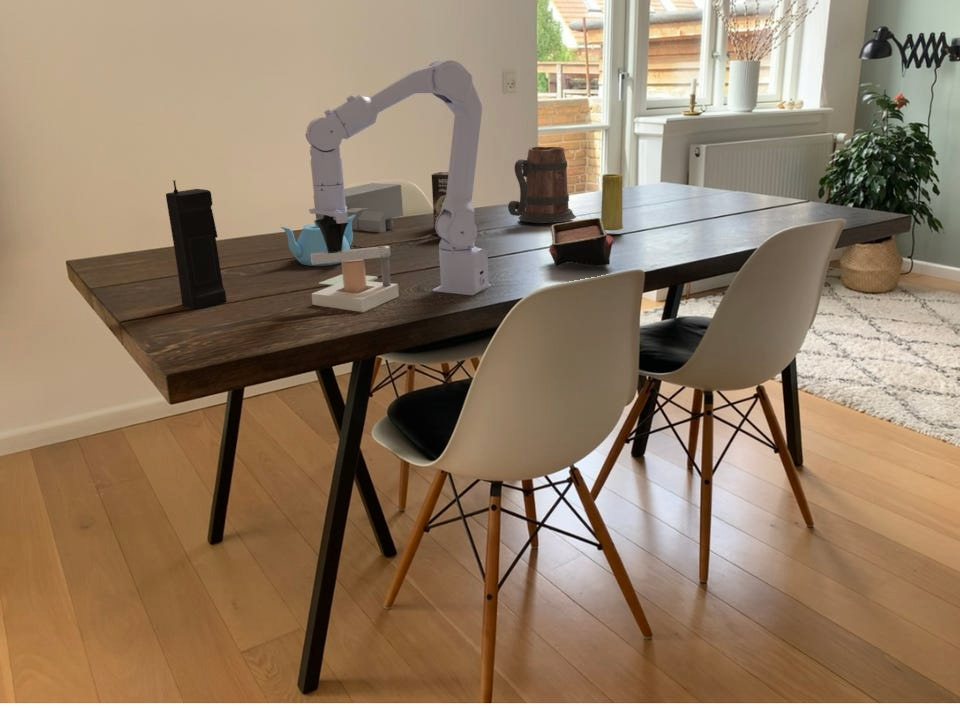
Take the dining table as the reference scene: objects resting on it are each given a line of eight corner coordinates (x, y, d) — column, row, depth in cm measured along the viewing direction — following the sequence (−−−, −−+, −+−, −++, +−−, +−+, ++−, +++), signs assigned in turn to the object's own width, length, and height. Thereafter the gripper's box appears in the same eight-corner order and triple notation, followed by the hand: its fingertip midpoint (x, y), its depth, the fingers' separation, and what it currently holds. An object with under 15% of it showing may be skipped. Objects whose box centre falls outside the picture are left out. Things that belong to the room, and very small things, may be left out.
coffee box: (433, 234, 222) (430, 174, 216) (441, 230, 227) (438, 171, 222) (465, 235, 219) (462, 174, 213) (472, 230, 225) (470, 171, 219)
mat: (377, 278, 177) (377, 276, 176) (352, 289, 169) (352, 286, 169) (344, 275, 181) (344, 273, 181) (318, 285, 173) (318, 282, 173)
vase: (599, 230, 218) (599, 176, 213) (601, 226, 223) (601, 173, 219) (622, 230, 216) (623, 176, 212) (623, 226, 222) (624, 173, 217)
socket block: (398, 296, 162) (396, 256, 160) (363, 312, 152) (359, 270, 150) (350, 290, 168) (346, 252, 165) (312, 306, 158) (308, 265, 155)
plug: (372, 299, 161) (368, 259, 158) (358, 305, 157) (355, 264, 155) (354, 297, 163) (350, 258, 160) (340, 303, 159) (336, 263, 157)
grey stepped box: (380, 240, 218) (377, 199, 215) (317, 233, 231) (313, 195, 227) (436, 224, 238) (434, 186, 234) (375, 219, 250) (372, 183, 247)
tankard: (545, 210, 251) (544, 144, 245) (587, 216, 240) (588, 146, 233) (490, 222, 236) (487, 151, 230) (532, 228, 225) (531, 154, 218)
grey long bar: (389, 254, 160) (388, 245, 160) (391, 256, 158) (391, 247, 158) (311, 262, 156) (310, 253, 155) (313, 265, 154) (311, 255, 153)
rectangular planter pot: (547, 281, 181) (546, 239, 175) (551, 246, 196) (550, 207, 190) (613, 280, 179) (614, 238, 173) (612, 246, 194) (613, 206, 188)
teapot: (304, 256, 203) (299, 214, 199) (363, 254, 201) (359, 213, 198) (284, 270, 189) (279, 225, 186) (348, 268, 187) (343, 224, 184)
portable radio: (215, 300, 165) (196, 174, 157) (233, 304, 162) (214, 176, 153) (180, 309, 160) (159, 180, 151) (198, 314, 156) (176, 181, 148)
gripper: (297, 182, 157) (305, 251, 162) (318, 190, 145) (325, 265, 149) (333, 178, 160) (339, 246, 165) (356, 186, 148) (362, 260, 152)
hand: (335, 255), depth 157 cm, fingers closed, pressing on grey long bar
